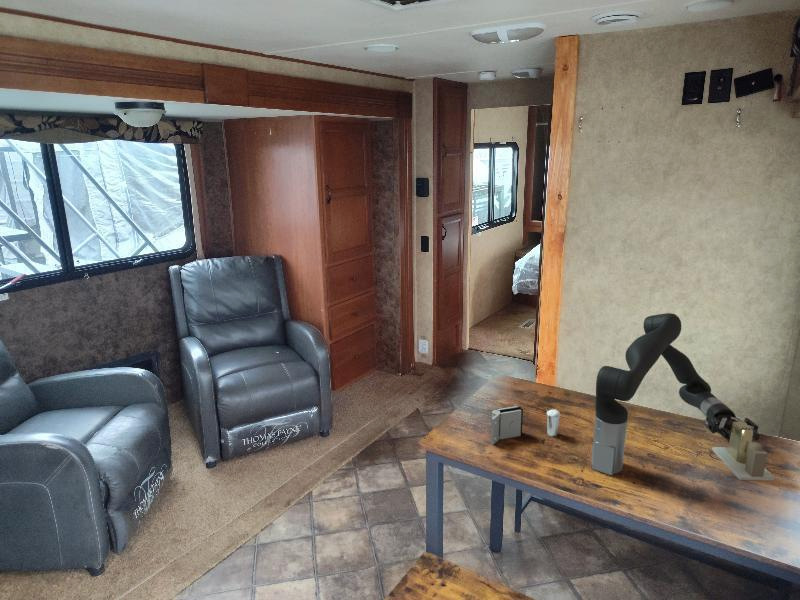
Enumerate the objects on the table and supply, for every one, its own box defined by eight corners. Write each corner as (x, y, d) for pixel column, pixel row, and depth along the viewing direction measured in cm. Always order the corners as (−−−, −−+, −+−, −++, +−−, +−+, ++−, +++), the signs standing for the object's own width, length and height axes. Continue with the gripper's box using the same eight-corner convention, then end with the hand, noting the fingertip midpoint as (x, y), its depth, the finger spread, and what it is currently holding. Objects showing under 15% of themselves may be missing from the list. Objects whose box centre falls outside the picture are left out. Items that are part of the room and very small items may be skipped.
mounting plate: (712, 449, 176) (716, 422, 173) (743, 450, 176) (748, 422, 173) (739, 479, 160) (744, 450, 158) (774, 480, 160) (780, 451, 157)
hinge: (492, 445, 182) (492, 419, 179) (482, 438, 187) (483, 412, 184) (523, 435, 188) (524, 409, 185) (514, 428, 193) (514, 403, 190)
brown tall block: (727, 452, 173) (732, 421, 170) (738, 452, 173) (743, 421, 170) (739, 463, 167) (744, 432, 164) (750, 463, 166) (756, 432, 163)
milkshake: (546, 428, 192) (548, 403, 189) (560, 433, 188) (562, 408, 186) (541, 434, 188) (542, 408, 186) (555, 438, 185) (557, 413, 182)
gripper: (697, 402, 182) (721, 426, 167) (740, 402, 181) (769, 427, 166) (694, 422, 184) (718, 447, 169) (737, 422, 183) (764, 448, 168)
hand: (743, 437), depth 167 cm, fingers open, 8 cm apart
